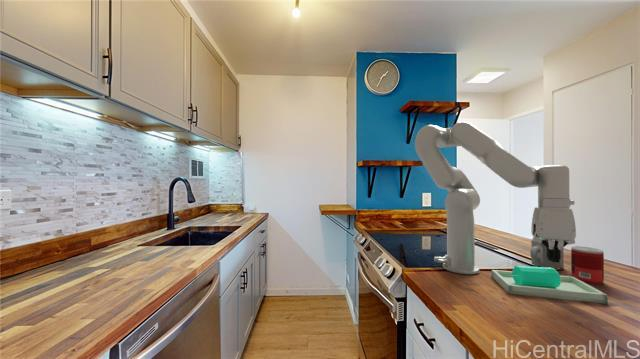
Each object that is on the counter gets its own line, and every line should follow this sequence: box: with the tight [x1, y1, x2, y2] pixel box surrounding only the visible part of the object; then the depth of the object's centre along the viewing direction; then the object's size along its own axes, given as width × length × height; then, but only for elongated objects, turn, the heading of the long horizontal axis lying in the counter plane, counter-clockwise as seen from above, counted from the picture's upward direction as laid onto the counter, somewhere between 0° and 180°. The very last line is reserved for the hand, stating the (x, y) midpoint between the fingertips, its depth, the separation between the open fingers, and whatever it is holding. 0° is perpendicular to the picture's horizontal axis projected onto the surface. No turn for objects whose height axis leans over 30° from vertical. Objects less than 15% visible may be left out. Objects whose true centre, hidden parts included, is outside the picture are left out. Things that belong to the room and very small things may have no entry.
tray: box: [491, 269, 609, 305], centre depth 84 cm, size 24×15×2 cm, turn 74°
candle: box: [512, 265, 561, 288], centre depth 84 cm, size 6×6×12 cm
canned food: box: [570, 245, 605, 285], centre depth 92 cm, size 8×8×11 cm
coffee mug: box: [529, 238, 564, 269], centre depth 108 cm, size 13×10×10 cm
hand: (553, 261), depth 83 cm, fingers closed
